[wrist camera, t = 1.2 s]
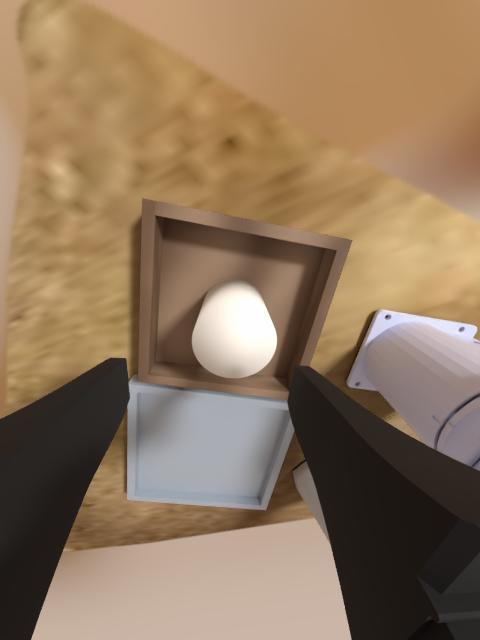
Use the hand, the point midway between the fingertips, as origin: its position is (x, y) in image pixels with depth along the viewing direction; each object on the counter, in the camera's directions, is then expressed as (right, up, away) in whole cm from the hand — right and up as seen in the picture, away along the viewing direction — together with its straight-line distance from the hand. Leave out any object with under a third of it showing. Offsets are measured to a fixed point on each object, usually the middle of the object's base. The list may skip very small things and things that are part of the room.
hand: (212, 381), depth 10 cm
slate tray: (-2, -11, +15) cm, 19 cm away
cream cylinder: (+1, +4, +9) cm, 10 cm away
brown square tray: (+1, +4, +10) cm, 10 cm away
